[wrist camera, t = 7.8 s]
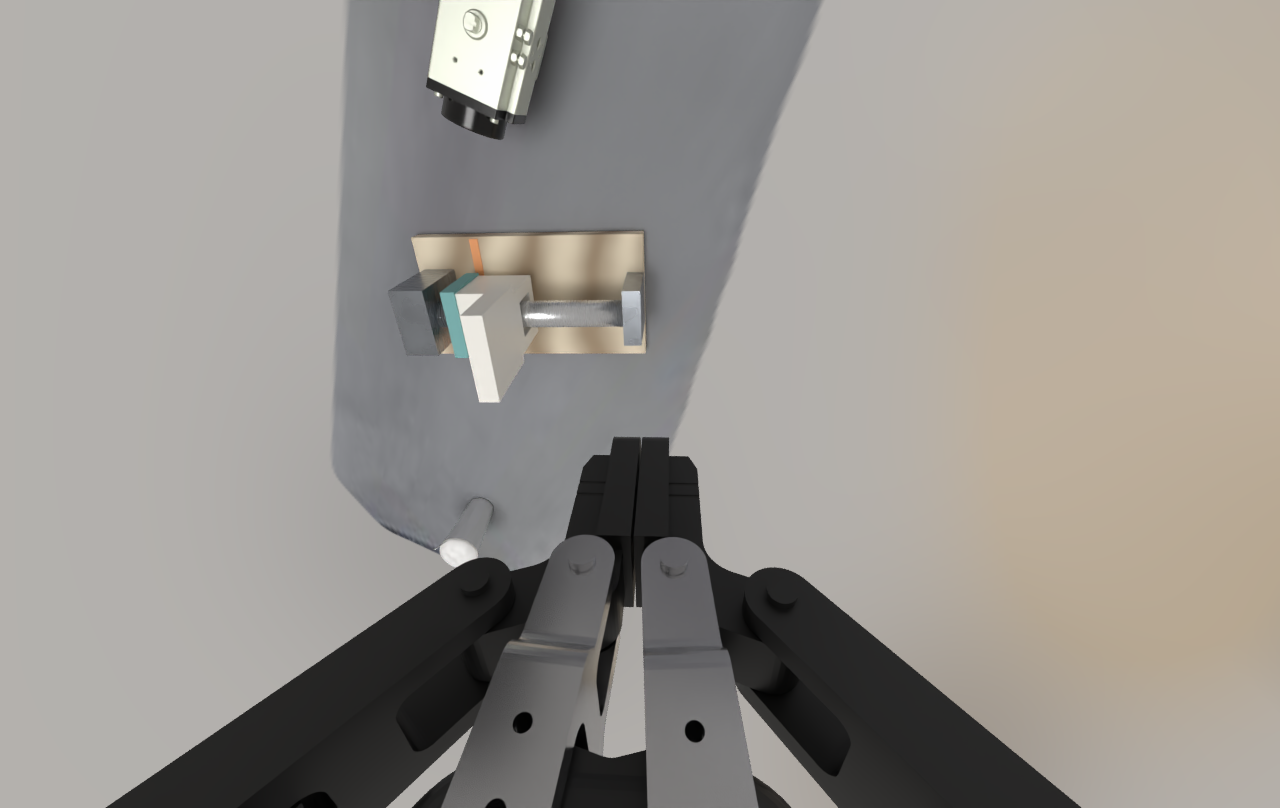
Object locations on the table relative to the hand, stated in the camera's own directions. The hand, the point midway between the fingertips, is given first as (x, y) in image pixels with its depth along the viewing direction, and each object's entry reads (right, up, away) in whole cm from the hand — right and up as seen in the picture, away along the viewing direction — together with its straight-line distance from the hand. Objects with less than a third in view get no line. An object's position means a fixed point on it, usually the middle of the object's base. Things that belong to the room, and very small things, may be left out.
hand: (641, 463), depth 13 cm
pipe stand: (-11, +13, +36) cm, 39 cm away
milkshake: (-22, -12, +51) cm, 57 cm away
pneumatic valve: (-9, +30, +25) cm, 41 cm away
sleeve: (-13, +11, +33) cm, 37 cm away
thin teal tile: (-16, +11, +33) cm, 39 cm away
